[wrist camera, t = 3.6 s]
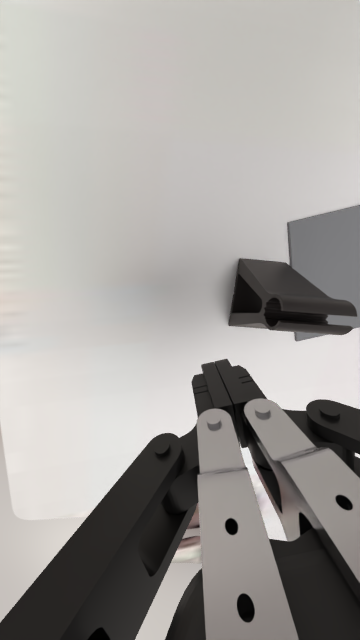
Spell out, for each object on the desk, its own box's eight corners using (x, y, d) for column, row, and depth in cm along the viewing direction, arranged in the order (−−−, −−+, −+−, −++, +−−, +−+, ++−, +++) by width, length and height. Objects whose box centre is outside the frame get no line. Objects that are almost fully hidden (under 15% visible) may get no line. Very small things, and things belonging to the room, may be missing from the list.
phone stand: (239, 258, 25) (296, 254, 14) (284, 262, 26) (376, 262, 14) (228, 324, 28) (268, 369, 16) (269, 328, 28) (337, 373, 17)
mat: (401, 195, 24) (404, 194, 24) (391, 318, 28) (394, 319, 28) (287, 222, 24) (289, 222, 24) (295, 340, 29) (297, 341, 28)
